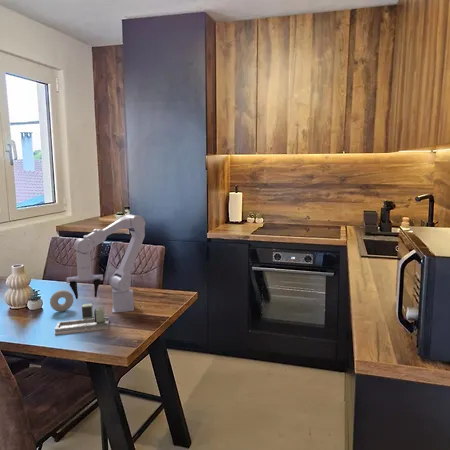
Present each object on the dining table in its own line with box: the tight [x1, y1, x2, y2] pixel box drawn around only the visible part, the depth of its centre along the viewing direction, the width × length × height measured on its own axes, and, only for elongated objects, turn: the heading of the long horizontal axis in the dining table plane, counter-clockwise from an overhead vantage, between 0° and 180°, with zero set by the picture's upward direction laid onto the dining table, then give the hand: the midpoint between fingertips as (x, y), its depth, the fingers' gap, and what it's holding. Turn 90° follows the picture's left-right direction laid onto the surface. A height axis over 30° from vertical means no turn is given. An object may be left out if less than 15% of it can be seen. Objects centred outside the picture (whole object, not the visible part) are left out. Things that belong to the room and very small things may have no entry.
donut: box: [49, 289, 74, 312], centre depth 181 cm, size 10×3×10 cm, turn 121°
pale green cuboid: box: [81, 303, 94, 319], centre depth 172 cm, size 4×4×6 cm
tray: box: [54, 306, 110, 335], centre depth 163 cm, size 20×9×7 cm, turn 104°
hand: (86, 297), depth 172 cm, fingers open, 7 cm apart
